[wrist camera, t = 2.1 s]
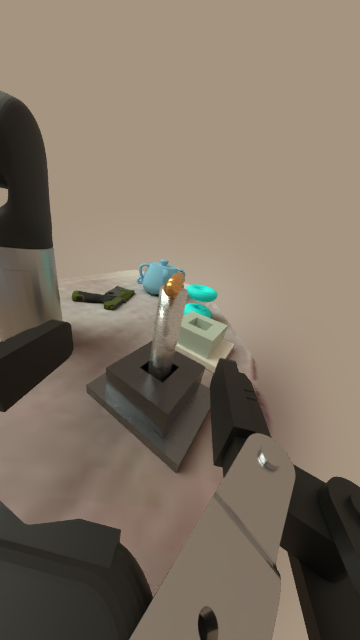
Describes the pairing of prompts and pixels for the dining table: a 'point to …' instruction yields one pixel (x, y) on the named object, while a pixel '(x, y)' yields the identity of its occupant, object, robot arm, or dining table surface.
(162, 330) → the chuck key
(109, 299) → the gun
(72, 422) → the dining table surface
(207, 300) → the donuts
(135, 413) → the block
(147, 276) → the decorative pot
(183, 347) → the pale green socket base
